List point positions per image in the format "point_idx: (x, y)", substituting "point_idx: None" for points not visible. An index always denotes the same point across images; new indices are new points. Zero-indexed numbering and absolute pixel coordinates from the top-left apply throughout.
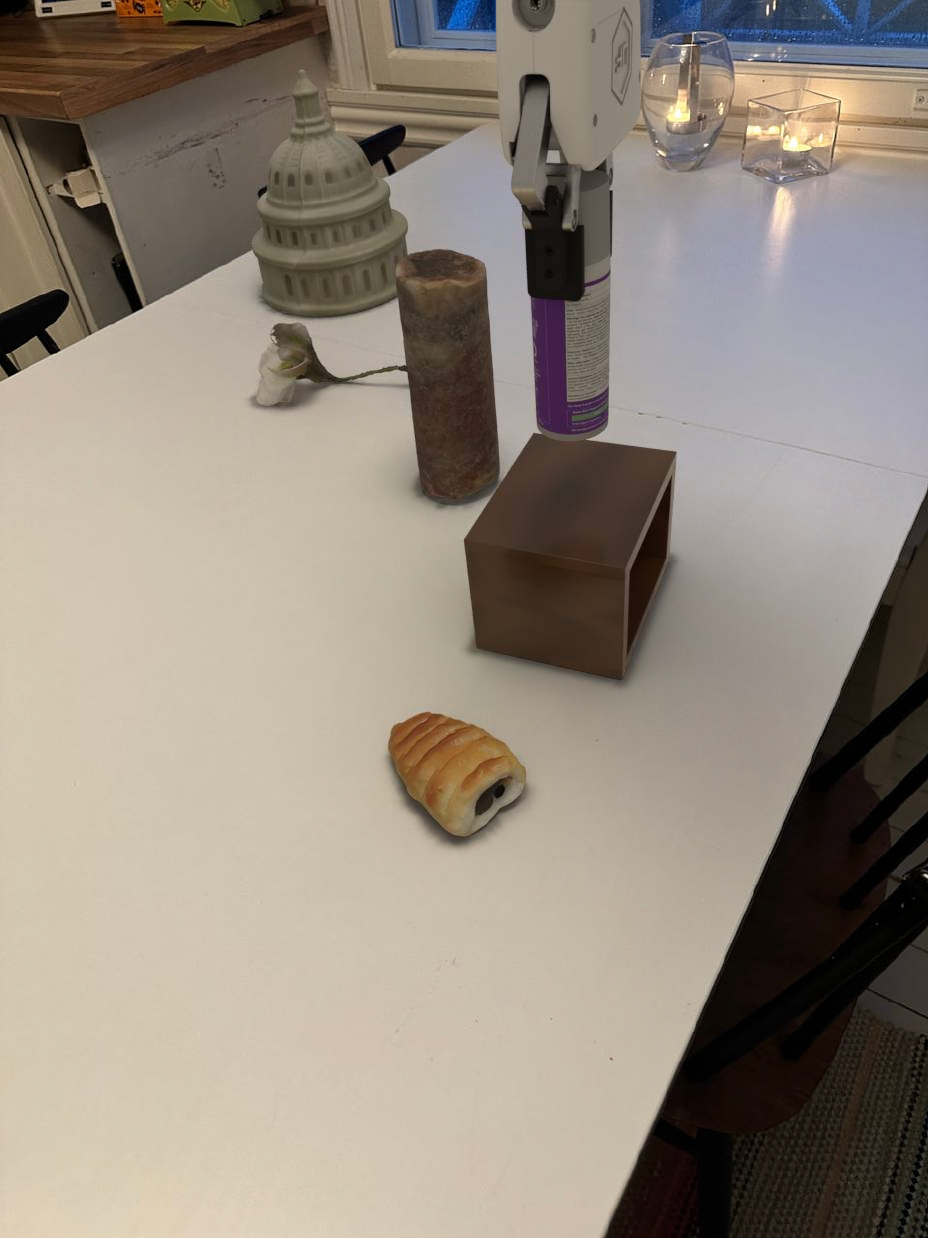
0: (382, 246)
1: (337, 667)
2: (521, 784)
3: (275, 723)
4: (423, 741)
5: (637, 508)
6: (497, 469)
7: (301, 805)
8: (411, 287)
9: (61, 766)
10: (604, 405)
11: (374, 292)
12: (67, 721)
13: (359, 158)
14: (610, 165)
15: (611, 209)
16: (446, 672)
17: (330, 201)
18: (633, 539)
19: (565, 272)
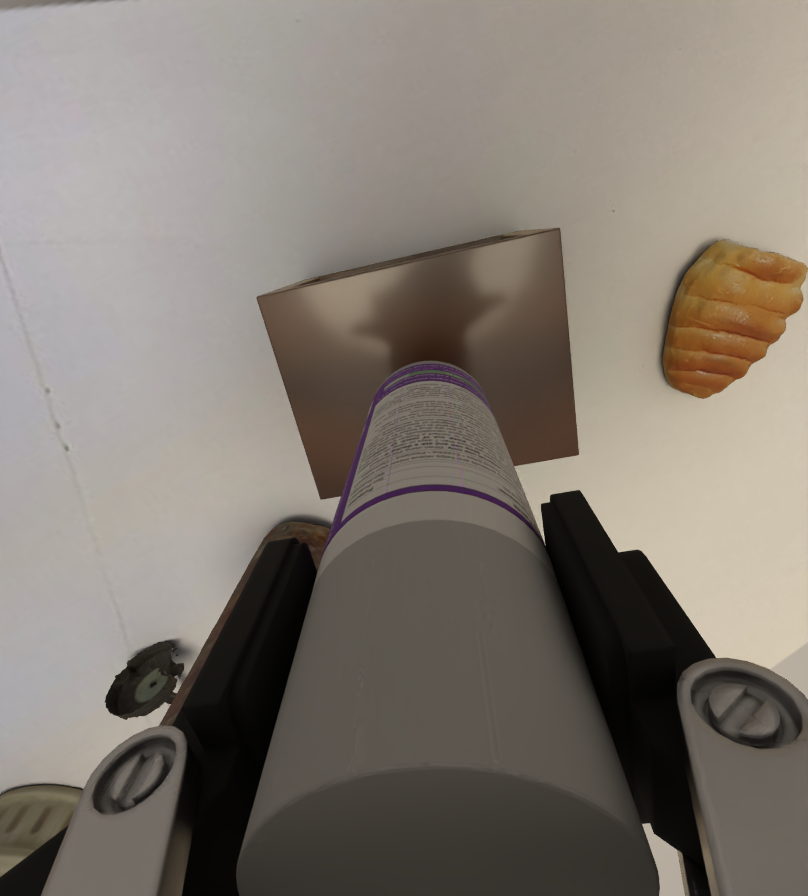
0: (15, 855)
1: (615, 496)
2: (728, 241)
3: (700, 500)
4: (743, 352)
5: (419, 281)
6: (286, 527)
7: (784, 422)
8: None
9: (798, 611)
10: (430, 372)
11: (71, 805)
12: (752, 639)
13: None
14: (110, 828)
15: (227, 646)
16: (581, 404)
17: None
18: (492, 249)
19: (636, 572)
